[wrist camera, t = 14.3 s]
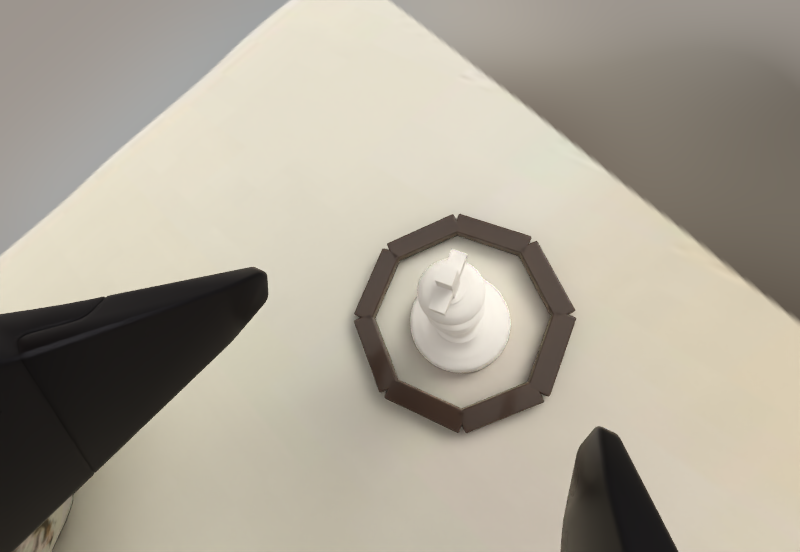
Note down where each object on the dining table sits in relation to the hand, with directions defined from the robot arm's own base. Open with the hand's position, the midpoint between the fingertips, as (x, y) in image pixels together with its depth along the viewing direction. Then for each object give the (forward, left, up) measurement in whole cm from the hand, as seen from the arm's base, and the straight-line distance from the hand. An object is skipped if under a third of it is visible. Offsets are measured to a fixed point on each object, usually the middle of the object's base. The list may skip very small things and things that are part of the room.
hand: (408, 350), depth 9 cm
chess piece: (+2, +1, -10) cm, 10 cm away
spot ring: (+2, +2, -9) cm, 10 cm away
